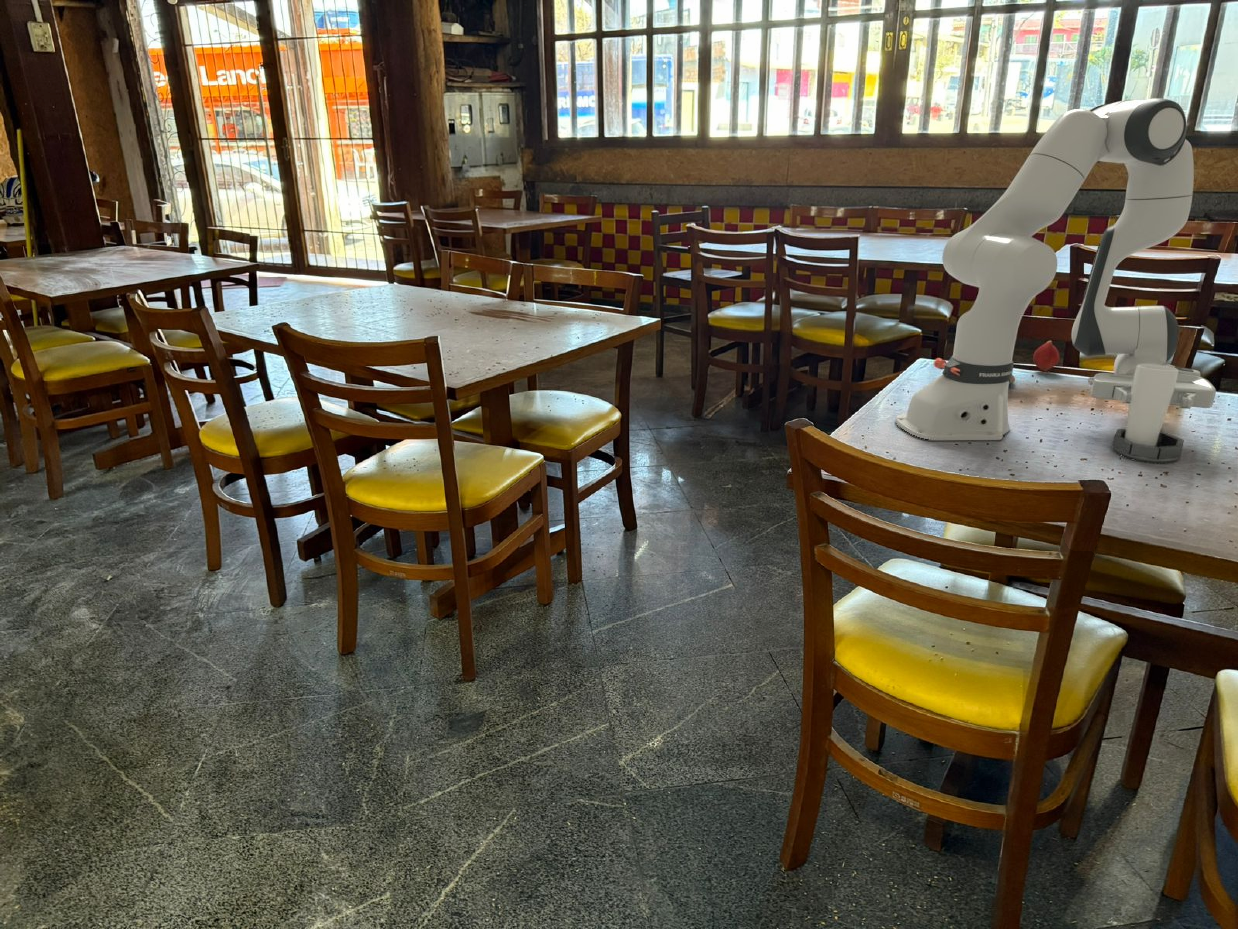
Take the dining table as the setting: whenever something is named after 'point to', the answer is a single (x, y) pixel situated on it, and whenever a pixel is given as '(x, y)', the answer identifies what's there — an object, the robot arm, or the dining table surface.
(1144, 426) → the drinking glass
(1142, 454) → the ring
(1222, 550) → the dining table surface
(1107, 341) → the robot arm
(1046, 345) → the onion
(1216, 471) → the dining table surface
